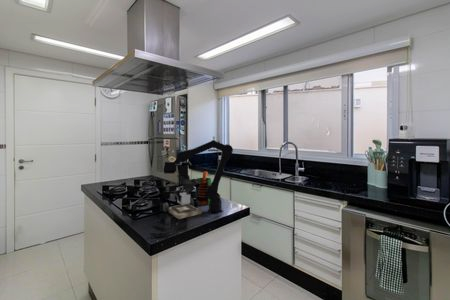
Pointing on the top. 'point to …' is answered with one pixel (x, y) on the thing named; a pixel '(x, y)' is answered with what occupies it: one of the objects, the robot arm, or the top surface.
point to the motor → (202, 190)
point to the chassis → (182, 210)
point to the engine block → (184, 198)
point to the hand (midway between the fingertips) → (183, 200)
